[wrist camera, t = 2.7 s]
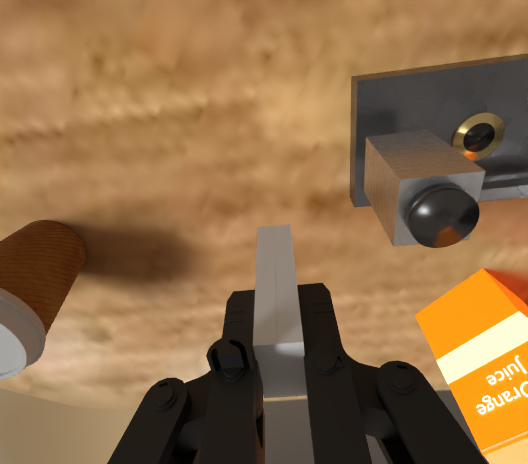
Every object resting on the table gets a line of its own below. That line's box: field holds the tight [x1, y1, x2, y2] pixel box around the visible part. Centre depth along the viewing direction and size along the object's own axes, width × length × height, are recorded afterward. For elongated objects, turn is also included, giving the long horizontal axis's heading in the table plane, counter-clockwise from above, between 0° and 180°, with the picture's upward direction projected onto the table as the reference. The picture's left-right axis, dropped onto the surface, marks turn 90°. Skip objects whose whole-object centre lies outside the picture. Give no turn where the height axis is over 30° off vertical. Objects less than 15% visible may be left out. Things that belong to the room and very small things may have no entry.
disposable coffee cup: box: [0, 221, 87, 380], centre depth 29 cm, size 10×10×12 cm
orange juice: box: [415, 269, 528, 464], centre depth 29 cm, size 8×9×20 cm
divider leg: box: [364, 130, 486, 248], centre depth 21 cm, size 4×4×10 cm
